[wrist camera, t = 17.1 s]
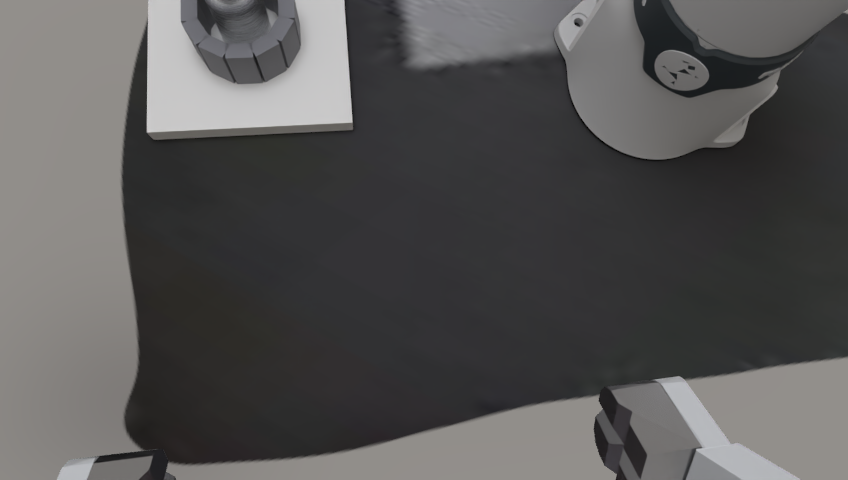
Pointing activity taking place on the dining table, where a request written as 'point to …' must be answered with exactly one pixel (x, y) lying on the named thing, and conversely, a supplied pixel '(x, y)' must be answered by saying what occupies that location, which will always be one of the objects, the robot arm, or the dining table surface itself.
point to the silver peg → (240, 19)
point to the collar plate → (247, 72)
